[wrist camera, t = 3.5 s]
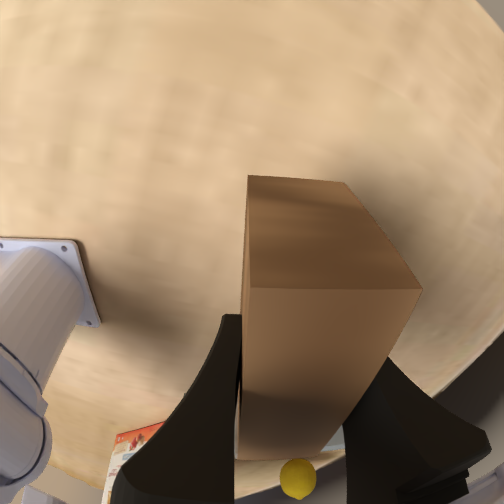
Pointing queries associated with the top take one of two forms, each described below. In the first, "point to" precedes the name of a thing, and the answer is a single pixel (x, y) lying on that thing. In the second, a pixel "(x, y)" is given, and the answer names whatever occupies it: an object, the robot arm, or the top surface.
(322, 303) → the block
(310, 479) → the lemon
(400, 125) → the top surface
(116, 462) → the cracker box
